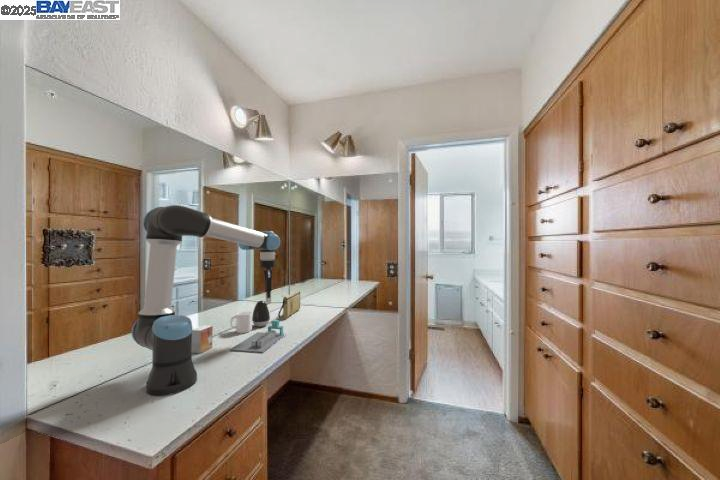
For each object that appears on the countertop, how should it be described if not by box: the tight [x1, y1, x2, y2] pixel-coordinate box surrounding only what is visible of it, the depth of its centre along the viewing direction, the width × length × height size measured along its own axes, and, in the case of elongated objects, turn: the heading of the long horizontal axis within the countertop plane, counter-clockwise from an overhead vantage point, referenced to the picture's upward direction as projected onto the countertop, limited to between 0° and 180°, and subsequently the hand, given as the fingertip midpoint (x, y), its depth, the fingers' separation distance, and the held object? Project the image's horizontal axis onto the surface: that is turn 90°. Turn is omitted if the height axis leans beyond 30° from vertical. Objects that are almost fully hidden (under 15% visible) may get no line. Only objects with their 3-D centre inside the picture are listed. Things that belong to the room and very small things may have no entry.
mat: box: [228, 331, 285, 354], centre depth 143 cm, size 26×17×1 cm, turn 171°
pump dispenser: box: [252, 300, 271, 328], centre depth 172 cm, size 10×10×15 cm
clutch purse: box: [277, 290, 301, 320], centre depth 198 cm, size 30×7×15 cm, turn 173°
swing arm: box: [252, 331, 271, 348], centre depth 141 cm, size 15×2×3 cm, turn 170°
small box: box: [192, 324, 213, 354], centre depth 133 cm, size 8×6×10 cm
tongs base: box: [257, 329, 277, 348], centre depth 142 cm, size 18×3×3 cm, turn 171°
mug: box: [229, 311, 253, 334], centre depth 161 cm, size 12×8×10 cm
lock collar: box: [267, 319, 284, 335], centre depth 153 cm, size 2×8×8 cm, turn 81°
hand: (268, 303), depth 152 cm, fingers closed
